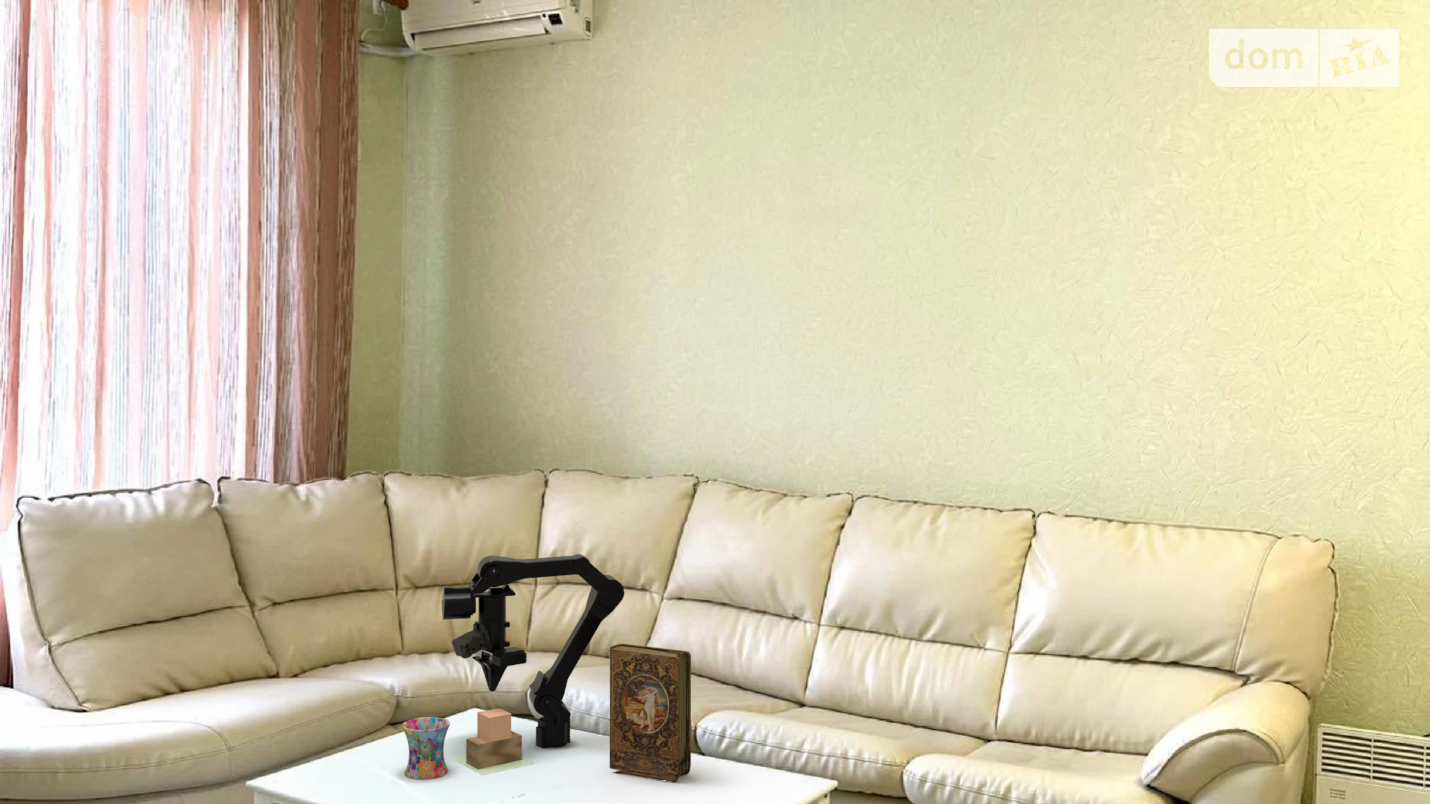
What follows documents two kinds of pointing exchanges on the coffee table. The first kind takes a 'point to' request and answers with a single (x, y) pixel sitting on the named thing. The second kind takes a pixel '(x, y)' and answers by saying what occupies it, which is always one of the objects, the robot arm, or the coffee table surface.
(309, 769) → the coffee table surface
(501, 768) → the baseplate
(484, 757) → the walnut brick
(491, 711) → the cube
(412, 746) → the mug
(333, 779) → the coffee table surface
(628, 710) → the book
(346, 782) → the coffee table surface
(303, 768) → the coffee table surface
